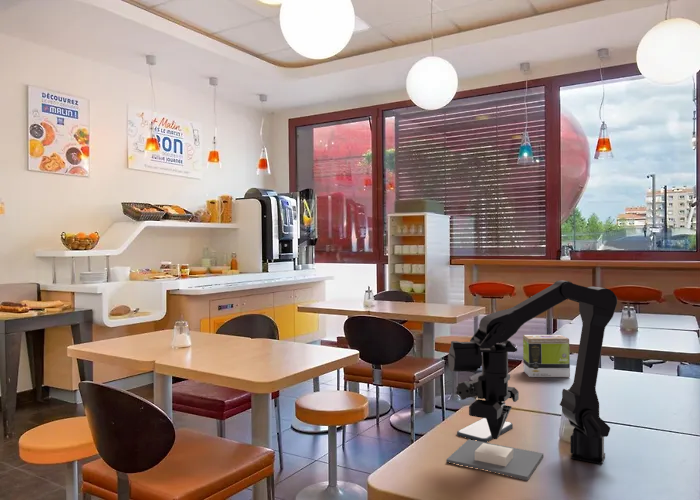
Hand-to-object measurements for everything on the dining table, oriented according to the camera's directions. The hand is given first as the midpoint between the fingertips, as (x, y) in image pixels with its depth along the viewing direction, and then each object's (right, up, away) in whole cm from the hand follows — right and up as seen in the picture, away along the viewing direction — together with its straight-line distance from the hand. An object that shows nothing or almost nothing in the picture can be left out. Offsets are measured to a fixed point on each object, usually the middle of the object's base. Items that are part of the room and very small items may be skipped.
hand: (495, 438), depth 124 cm
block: (+1, -3, +2) cm, 4 cm away
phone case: (+3, -6, +20) cm, 21 cm away
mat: (0, -5, 0) cm, 5 cm away
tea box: (+41, -5, +83) cm, 93 cm away
